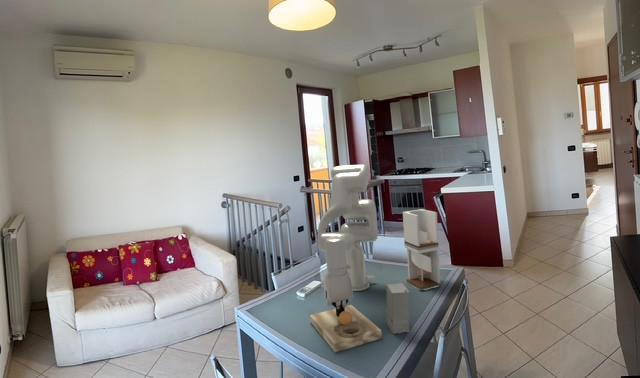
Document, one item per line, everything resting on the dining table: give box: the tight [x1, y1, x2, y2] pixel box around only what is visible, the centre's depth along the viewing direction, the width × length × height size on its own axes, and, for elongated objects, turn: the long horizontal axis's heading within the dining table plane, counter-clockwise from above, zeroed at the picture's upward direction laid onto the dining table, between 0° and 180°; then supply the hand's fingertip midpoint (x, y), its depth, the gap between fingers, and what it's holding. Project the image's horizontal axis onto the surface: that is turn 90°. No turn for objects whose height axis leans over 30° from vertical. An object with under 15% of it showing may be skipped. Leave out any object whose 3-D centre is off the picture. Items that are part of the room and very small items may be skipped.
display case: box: [402, 208, 441, 290], centre depth 169 cm, size 11×11×35 cm
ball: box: [339, 311, 352, 325], centre depth 133 cm, size 5×5×5 cm
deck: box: [309, 304, 383, 353], centre depth 136 cm, size 18×24×3 cm
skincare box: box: [385, 282, 410, 335], centre depth 133 cm, size 8×7×16 cm
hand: (340, 317), depth 138 cm, fingers closed
